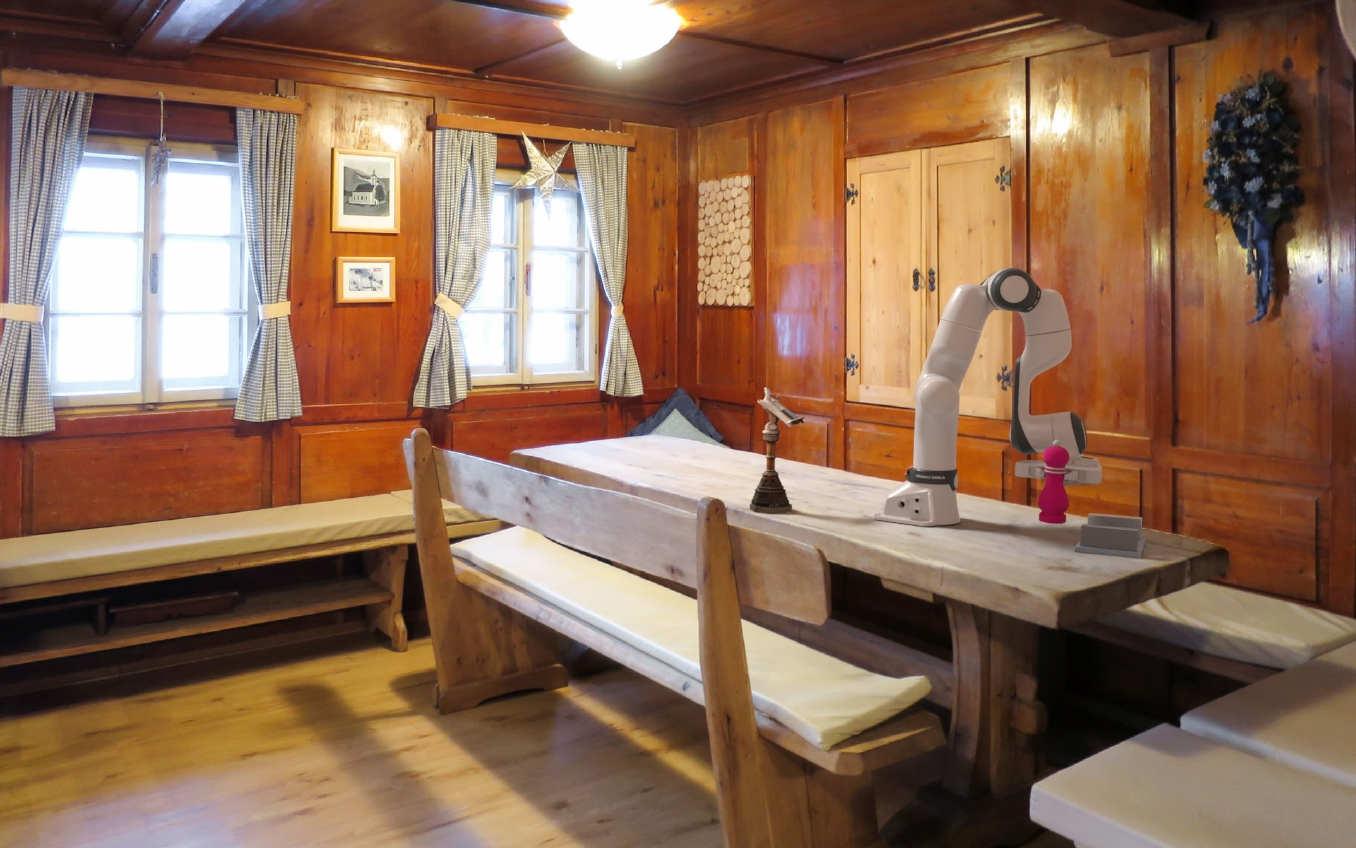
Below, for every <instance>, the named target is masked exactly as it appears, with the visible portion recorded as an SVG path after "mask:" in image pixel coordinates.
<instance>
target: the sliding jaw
mask: <svg viewBox="0 0 1356 848" xmlns="http://www.w3.org/2000/svg"><path fill="white" fill-rule="evenodd" d="M1087 524H1088V525H1099V526H1110V527H1122V528H1133V529H1138V539H1141V536H1142V528H1143V517H1139V516H1130V515H1117V514H1104V513H1091V512H1089V513H1087Z"/></svg>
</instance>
